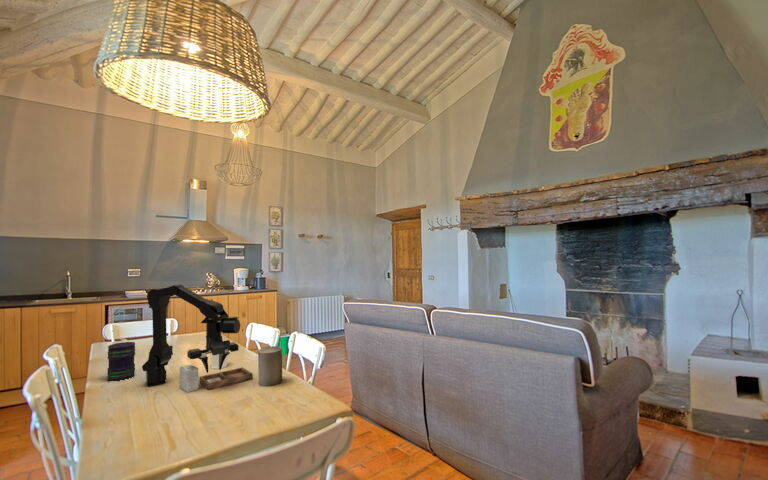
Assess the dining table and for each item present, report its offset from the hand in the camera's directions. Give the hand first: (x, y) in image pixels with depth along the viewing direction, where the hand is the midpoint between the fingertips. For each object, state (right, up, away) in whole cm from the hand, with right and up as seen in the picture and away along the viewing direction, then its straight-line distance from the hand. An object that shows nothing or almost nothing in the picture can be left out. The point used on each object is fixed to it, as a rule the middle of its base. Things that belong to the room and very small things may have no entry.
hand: (213, 371), depth 147 cm
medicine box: (-7, -5, -5) cm, 11 cm away
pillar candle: (+24, -5, 0) cm, 24 cm away
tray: (+4, -5, +3) cm, 7 cm away
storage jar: (-45, -7, +9) cm, 47 cm away
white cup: (-8, -7, +23) cm, 25 cm away
